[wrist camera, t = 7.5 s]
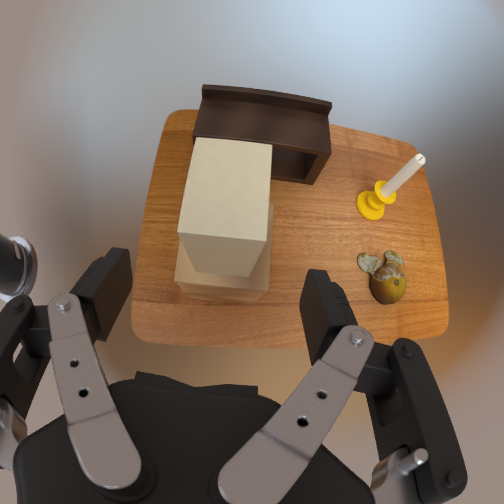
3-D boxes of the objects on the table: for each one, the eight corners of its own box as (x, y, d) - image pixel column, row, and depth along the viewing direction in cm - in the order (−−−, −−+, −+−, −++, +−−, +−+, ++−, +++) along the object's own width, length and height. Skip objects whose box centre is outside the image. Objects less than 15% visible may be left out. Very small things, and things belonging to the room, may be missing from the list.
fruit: (397, 249, 41) (410, 243, 38) (407, 300, 39) (420, 297, 36) (355, 254, 40) (366, 247, 37) (364, 309, 38) (376, 307, 35)
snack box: (195, 272, 23) (176, 232, 14) (204, 206, 25) (196, 136, 15) (249, 277, 24) (266, 241, 14) (254, 211, 25) (272, 144, 16)
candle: (367, 226, 42) (425, 180, 27) (350, 198, 43) (399, 143, 28) (388, 213, 43) (444, 167, 28) (371, 187, 44) (420, 135, 29)
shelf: (196, 171, 41) (190, 125, 31) (205, 132, 44) (203, 84, 33) (312, 185, 43) (337, 144, 32) (311, 145, 45) (331, 102, 34)
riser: (191, 298, 36) (173, 281, 23) (199, 240, 38) (187, 194, 25) (252, 304, 37) (268, 291, 23) (256, 246, 39) (274, 203, 26)
